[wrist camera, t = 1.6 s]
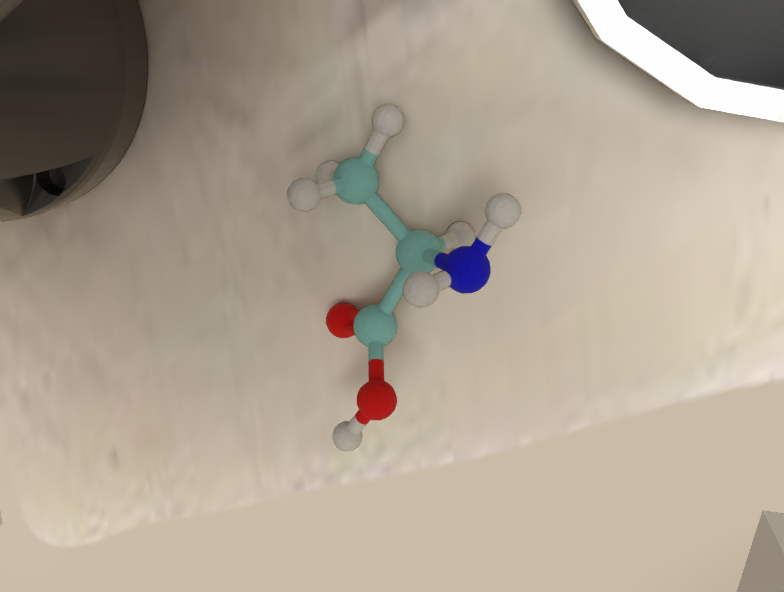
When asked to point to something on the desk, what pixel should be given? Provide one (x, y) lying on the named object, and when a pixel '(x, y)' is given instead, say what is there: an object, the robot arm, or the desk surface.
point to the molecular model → (414, 255)
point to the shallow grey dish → (701, 48)
